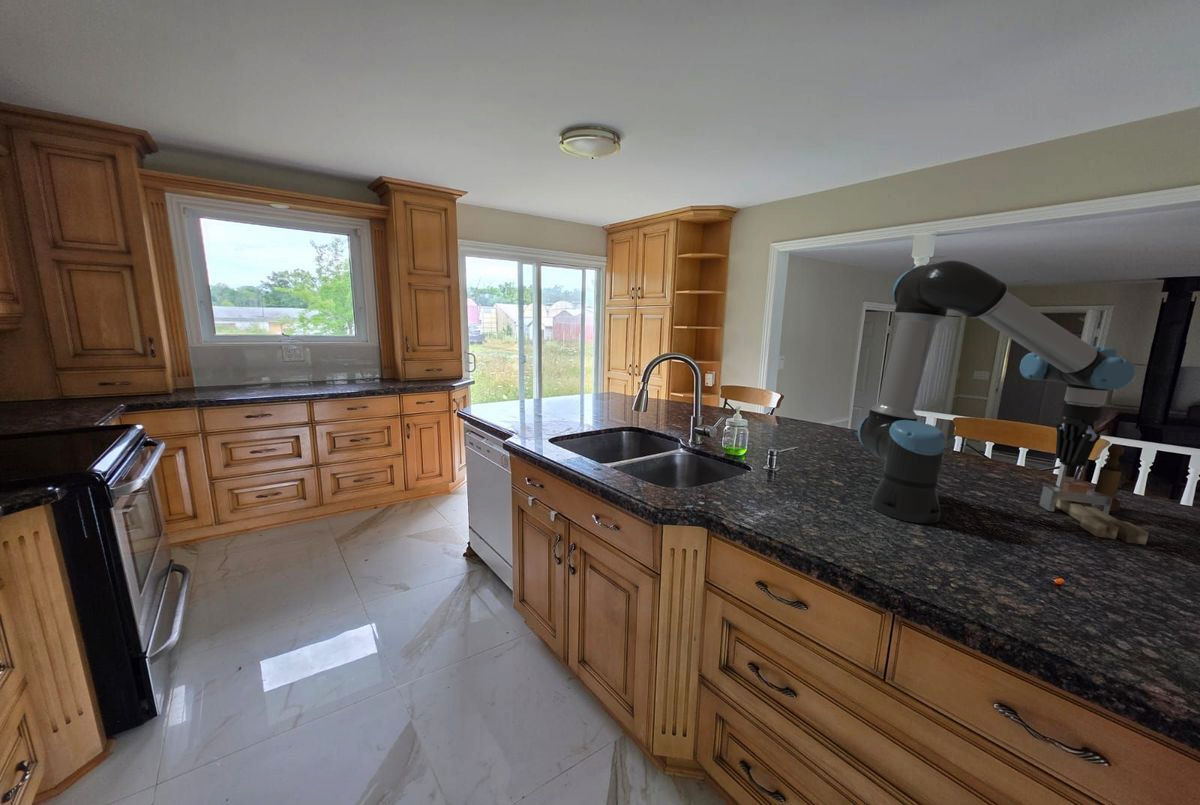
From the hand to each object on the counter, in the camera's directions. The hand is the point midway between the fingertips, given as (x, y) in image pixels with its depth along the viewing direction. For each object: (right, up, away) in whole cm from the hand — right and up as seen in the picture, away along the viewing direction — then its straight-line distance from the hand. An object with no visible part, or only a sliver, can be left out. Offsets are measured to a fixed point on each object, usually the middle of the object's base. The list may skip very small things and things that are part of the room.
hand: (1063, 486), depth 124 cm
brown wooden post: (+12, -6, +1) cm, 14 cm away
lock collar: (-2, -6, -4) cm, 7 cm away
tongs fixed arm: (-2, -7, -9) cm, 12 cm away
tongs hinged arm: (-4, -7, -8) cm, 11 cm away
